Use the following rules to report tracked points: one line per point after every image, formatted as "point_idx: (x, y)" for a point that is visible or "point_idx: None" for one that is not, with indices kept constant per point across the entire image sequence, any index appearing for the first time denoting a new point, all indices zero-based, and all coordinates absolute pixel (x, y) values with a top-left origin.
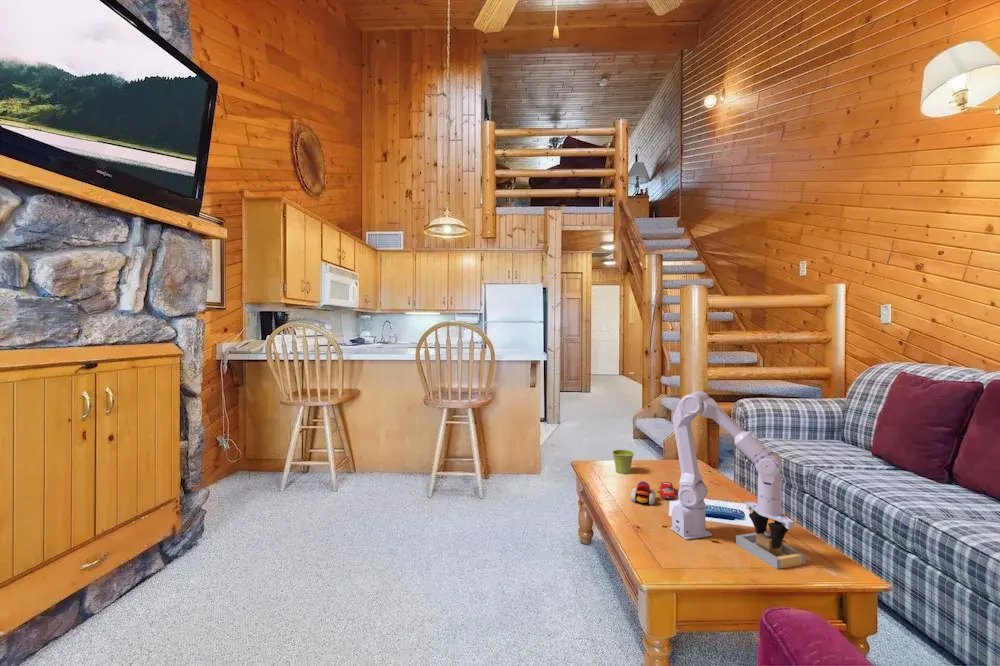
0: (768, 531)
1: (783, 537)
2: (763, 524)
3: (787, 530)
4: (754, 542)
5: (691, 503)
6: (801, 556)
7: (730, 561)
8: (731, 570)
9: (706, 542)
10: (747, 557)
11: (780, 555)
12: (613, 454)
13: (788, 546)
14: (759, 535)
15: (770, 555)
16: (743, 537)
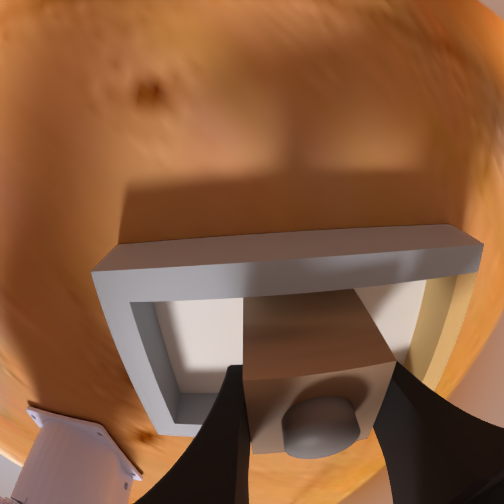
0: (297, 435)
1: (435, 394)
2: (241, 480)
3: (493, 428)
4: (166, 332)
5: None
6: (475, 270)
7: (297, 461)
8: (339, 469)
9: (154, 455)
10: None
11: None
12: None
13: (378, 258)
14: (280, 451)
15: None
16: (183, 424)
